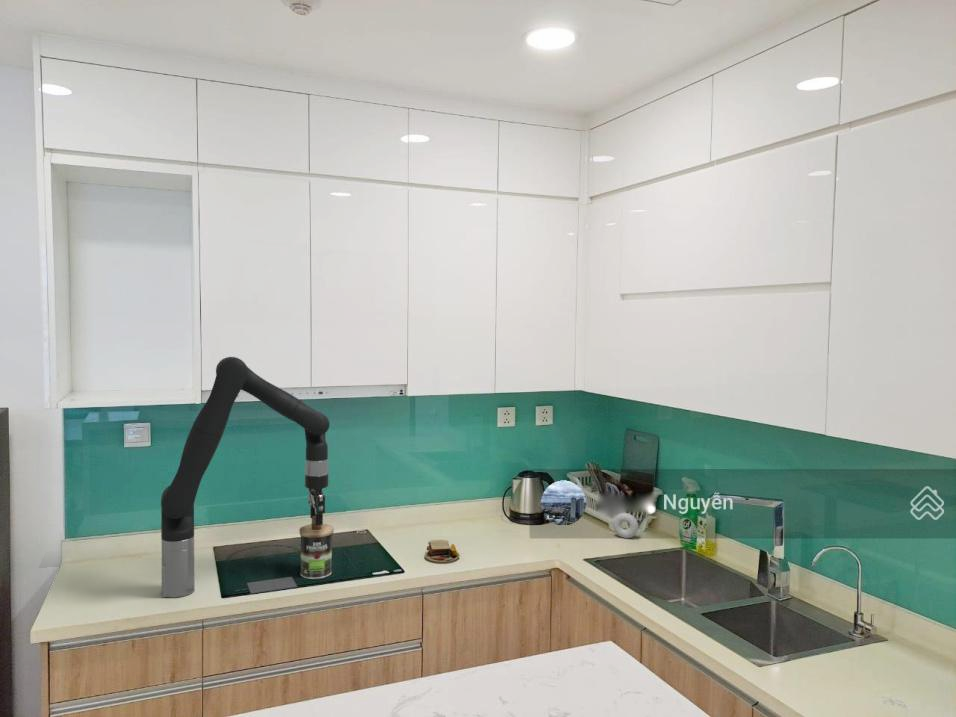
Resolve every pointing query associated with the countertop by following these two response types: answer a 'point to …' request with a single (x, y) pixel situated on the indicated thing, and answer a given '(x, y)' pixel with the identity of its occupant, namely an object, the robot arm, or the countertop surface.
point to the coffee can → (316, 557)
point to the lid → (316, 529)
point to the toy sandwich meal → (441, 552)
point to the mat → (271, 585)
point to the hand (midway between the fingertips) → (316, 521)
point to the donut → (621, 531)
